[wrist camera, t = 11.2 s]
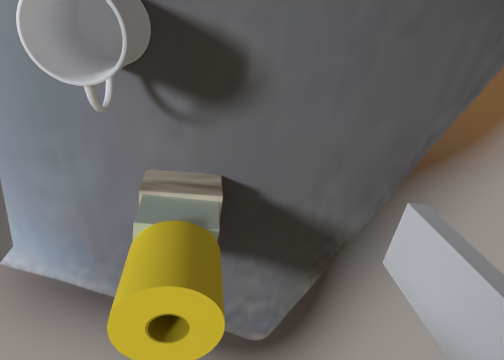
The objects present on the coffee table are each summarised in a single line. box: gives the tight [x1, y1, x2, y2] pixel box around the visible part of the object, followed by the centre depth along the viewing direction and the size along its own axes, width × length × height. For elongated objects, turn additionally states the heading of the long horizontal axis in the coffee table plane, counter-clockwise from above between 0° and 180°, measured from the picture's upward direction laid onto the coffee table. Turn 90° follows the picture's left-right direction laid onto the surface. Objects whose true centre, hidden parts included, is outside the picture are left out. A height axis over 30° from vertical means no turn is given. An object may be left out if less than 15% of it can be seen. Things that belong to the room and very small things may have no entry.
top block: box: [133, 194, 220, 242], centre depth 41 cm, size 9×9×6 cm
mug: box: [16, 0, 151, 112], centre depth 32 cm, size 12×8×12 cm
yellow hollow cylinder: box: [107, 220, 225, 360], centre depth 34 cm, size 10×10×9 cm
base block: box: [139, 169, 223, 223], centre depth 46 cm, size 10×10×6 cm
